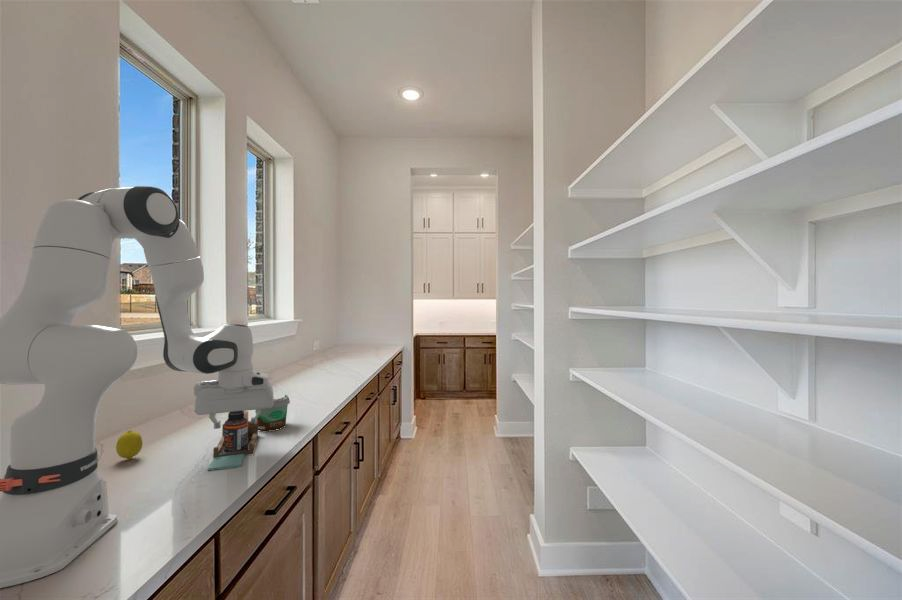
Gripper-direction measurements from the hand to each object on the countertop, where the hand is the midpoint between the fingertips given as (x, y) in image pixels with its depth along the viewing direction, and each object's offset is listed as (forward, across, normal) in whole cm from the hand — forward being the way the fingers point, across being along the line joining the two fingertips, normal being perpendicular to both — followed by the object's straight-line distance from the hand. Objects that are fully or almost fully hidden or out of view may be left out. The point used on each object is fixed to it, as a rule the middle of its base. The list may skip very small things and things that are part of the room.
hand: (235, 426), depth 113 cm
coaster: (+7, -1, -9) cm, 12 cm away
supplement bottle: (+7, 0, -1) cm, 7 cm away
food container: (+8, +10, +17) cm, 21 cm away
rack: (+7, 0, +3) cm, 8 cm away
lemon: (+7, -26, +3) cm, 27 cm away
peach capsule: (+7, 0, +7) cm, 10 cm away
